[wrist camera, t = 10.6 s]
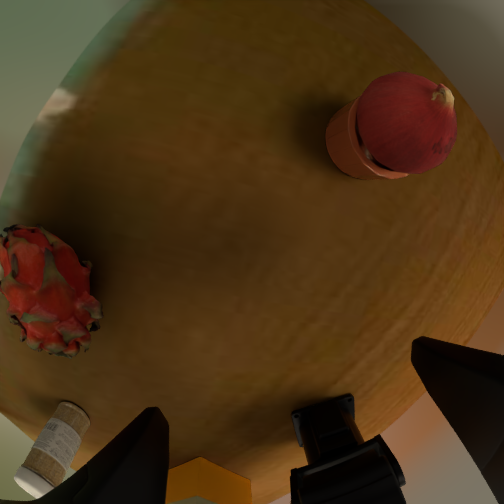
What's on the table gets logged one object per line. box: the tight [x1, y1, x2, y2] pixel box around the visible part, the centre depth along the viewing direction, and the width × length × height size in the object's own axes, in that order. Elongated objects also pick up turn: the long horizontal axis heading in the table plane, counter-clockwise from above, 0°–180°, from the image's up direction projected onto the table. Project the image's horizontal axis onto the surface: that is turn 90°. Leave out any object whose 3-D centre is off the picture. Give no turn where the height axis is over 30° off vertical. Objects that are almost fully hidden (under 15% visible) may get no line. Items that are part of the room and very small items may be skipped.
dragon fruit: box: [0, 224, 103, 359], centre depth 16 cm, size 8×8×12 cm
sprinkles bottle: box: [14, 402, 90, 499], centre depth 17 cm, size 5×5×14 cm
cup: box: [325, 96, 410, 180], centre depth 17 cm, size 6×6×4 cm
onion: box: [357, 72, 457, 174], centre depth 12 cm, size 6×6×8 cm
